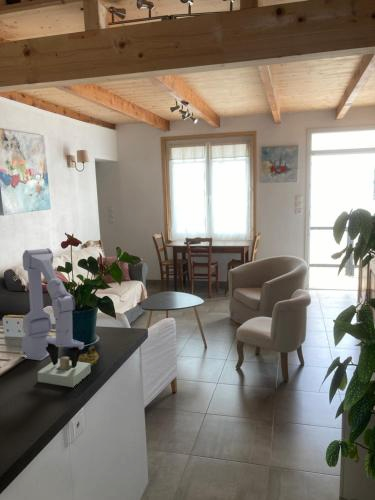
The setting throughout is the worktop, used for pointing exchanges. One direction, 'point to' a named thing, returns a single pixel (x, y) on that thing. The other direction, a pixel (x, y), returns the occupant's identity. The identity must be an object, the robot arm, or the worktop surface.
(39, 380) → the socket board
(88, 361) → the yellow lumpy piece
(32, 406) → the worktop surface
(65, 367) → the peg
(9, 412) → the worktop surface
